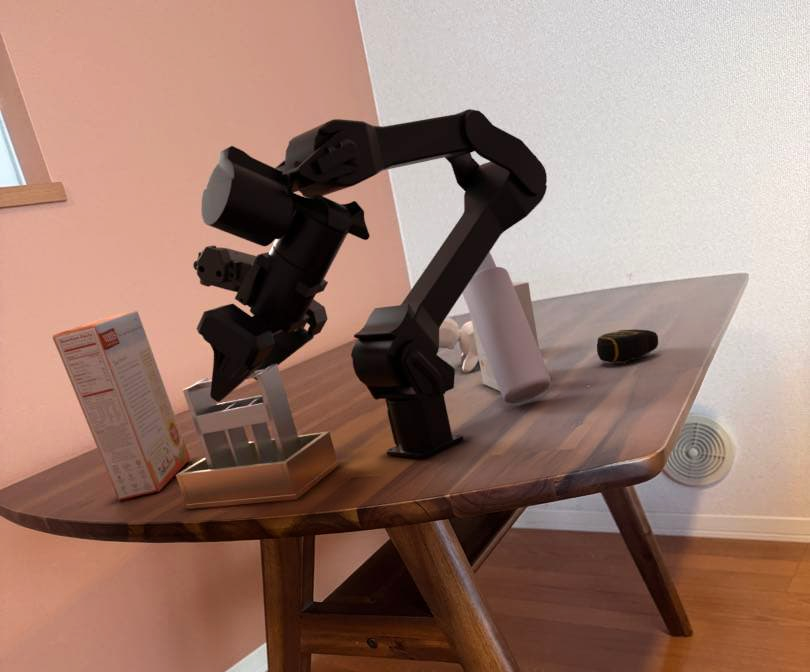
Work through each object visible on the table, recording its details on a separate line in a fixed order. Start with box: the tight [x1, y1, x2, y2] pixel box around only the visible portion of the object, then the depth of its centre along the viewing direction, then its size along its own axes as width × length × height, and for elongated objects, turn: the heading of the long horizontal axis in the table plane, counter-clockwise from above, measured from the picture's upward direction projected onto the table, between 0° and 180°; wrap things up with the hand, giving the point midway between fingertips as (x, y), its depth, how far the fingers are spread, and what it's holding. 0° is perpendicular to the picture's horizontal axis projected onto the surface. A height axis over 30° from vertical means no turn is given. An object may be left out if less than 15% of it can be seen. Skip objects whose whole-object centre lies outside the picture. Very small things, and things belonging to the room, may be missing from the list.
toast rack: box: [182, 364, 302, 470], centre depth 85 cm, size 9×5×12 cm, turn 80°
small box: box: [470, 281, 540, 392], centre depth 105 cm, size 8×6×13 cm
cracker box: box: [52, 310, 191, 501], centre depth 98 cm, size 14×6×21 cm, turn 178°
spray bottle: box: [461, 251, 552, 404], centre depth 94 cm, size 6×6×22 cm
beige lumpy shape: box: [439, 316, 479, 374], centre depth 123 cm, size 9×8×15 cm
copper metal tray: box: [175, 430, 339, 510], centre depth 86 cm, size 14×10×4 cm
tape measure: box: [596, 329, 659, 365], centre depth 103 cm, size 7×7×4 cm
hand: (235, 388), depth 83 cm, fingers open, 9 cm apart
